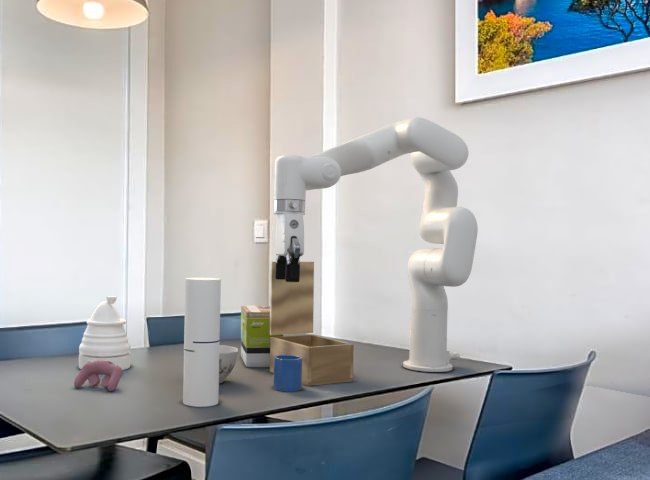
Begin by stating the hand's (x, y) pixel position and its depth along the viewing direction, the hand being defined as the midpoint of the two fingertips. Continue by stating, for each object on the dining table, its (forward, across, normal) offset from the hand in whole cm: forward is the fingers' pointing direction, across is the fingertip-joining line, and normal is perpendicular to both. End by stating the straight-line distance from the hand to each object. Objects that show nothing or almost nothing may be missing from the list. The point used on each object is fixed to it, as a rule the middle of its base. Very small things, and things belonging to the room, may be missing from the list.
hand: (286, 280), depth 160 cm
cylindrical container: (+24, -19, +22) cm, 38 cm away
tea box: (+24, +23, +1) cm, 33 cm away
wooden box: (+23, +3, -7) cm, 25 cm away
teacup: (+24, +1, +18) cm, 30 cm away
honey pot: (+24, +21, +42) cm, 52 cm away
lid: (+5, +11, -5) cm, 13 cm away
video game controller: (+24, -4, +43) cm, 49 cm away
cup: (+24, -9, +1) cm, 25 cm away
